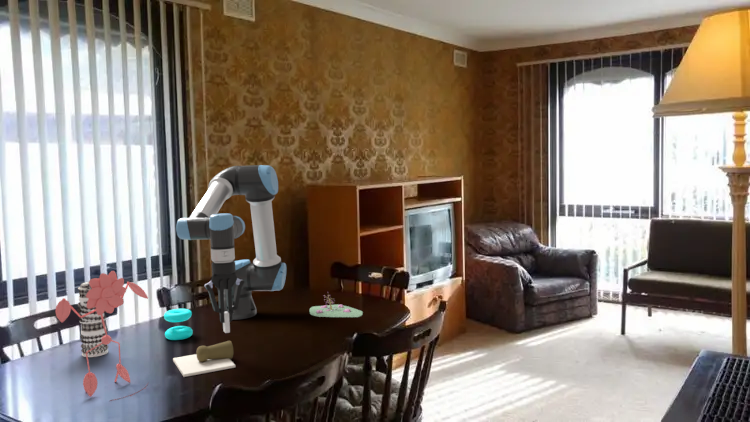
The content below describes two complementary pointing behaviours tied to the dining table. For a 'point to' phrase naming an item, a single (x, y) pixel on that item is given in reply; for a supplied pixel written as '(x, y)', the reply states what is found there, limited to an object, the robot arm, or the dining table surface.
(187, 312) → the donuts
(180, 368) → the felt mat
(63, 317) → the figurine
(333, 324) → the dining table surface
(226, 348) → the cork
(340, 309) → the plant
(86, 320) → the decorative candle
